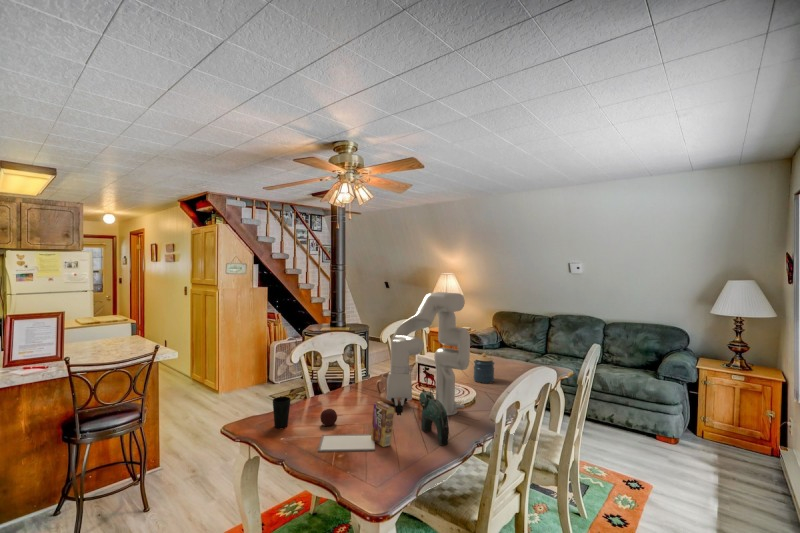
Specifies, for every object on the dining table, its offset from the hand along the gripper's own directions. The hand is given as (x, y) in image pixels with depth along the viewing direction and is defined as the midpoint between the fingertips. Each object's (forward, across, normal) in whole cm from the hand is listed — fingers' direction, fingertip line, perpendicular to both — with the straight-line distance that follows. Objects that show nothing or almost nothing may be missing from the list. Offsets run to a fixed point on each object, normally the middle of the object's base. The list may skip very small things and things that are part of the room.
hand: (398, 414), depth 161 cm
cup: (+12, +51, -18) cm, 56 cm away
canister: (+12, -61, -86) cm, 106 cm away
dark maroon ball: (+12, +30, -19) cm, 38 cm away
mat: (+12, +21, 0) cm, 24 cm away
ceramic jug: (+12, 0, -48) cm, 49 cm away
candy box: (+12, +7, 0) cm, 14 cm away
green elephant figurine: (+12, -16, -5) cm, 21 cm away
